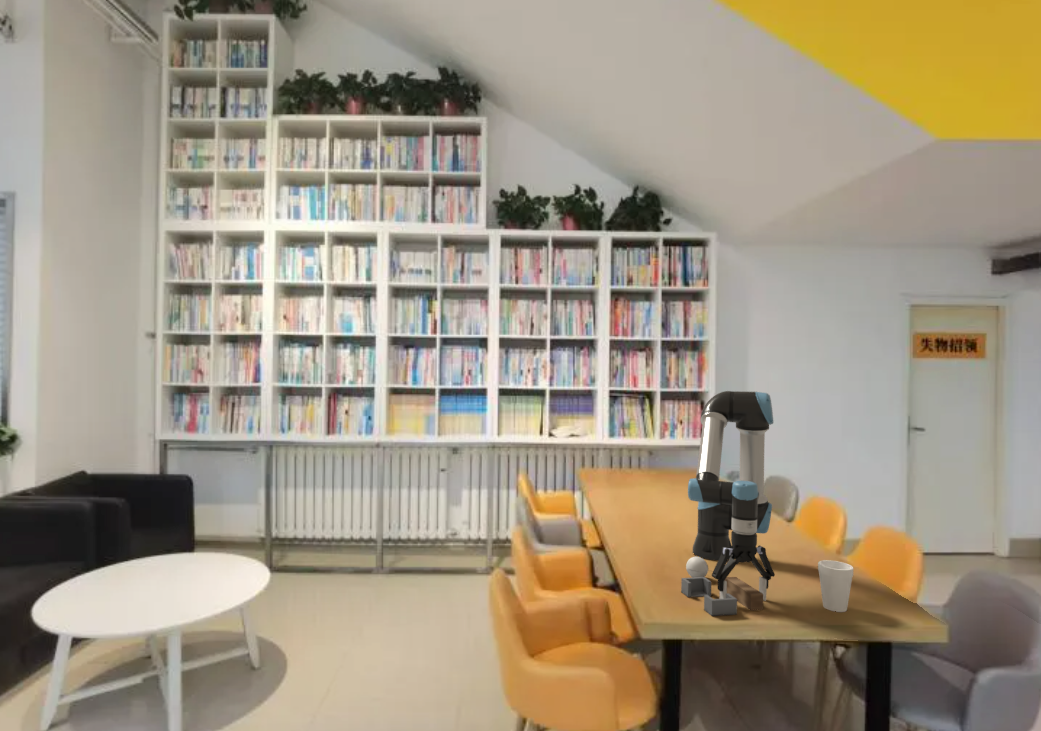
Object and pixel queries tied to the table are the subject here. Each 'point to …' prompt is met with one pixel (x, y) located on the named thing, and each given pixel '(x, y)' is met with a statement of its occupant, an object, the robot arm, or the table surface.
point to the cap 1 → (696, 586)
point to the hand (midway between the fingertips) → (742, 600)
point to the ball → (697, 567)
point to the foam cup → (835, 584)
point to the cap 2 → (720, 605)
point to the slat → (744, 593)
